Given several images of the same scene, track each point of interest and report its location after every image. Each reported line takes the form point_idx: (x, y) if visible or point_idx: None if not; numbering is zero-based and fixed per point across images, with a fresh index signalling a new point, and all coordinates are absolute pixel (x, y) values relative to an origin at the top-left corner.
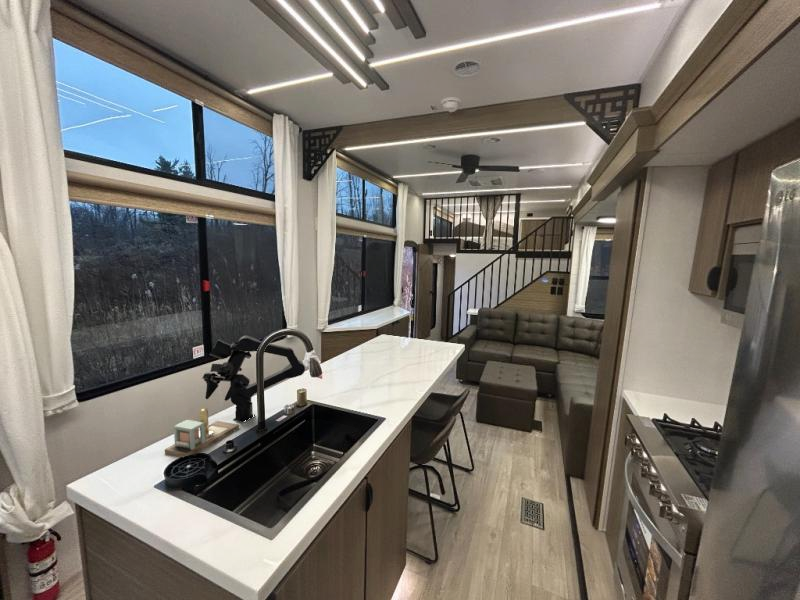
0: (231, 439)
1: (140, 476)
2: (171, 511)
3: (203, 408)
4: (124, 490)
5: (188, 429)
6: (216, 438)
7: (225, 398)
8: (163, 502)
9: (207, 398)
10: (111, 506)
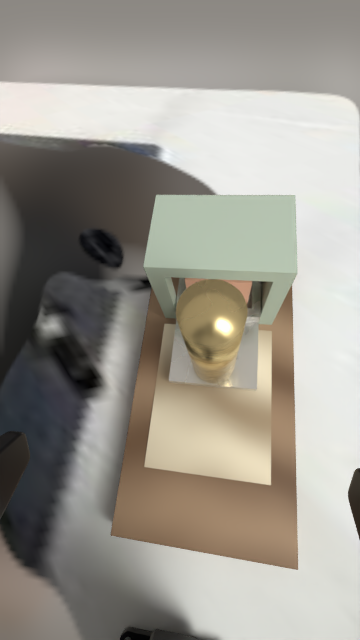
0: (92, 403)
1: (237, 159)
2: (52, 113)
3: (235, 334)
4: (219, 120)
5: (177, 198)
6: (139, 361)
7: (2, 441)
8: (88, 122)
9: (353, 494)
10: (192, 90)
